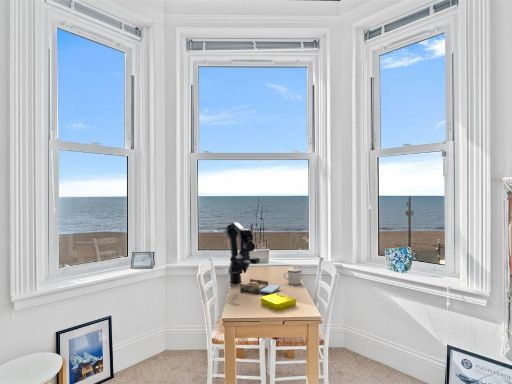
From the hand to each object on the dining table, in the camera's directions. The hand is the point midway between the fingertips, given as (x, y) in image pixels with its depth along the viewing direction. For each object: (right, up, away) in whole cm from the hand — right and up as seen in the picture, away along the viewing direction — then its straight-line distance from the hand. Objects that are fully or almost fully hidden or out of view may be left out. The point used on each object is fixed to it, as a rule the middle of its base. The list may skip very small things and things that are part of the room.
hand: (244, 272), depth 207 cm
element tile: (+20, -11, -29) cm, 36 cm away
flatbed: (+6, -11, 0) cm, 12 cm away
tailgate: (+13, -9, -4) cm, 16 cm away
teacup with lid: (+32, -11, +15) cm, 37 cm away
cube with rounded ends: (+6, -8, -4) cm, 11 cm away
